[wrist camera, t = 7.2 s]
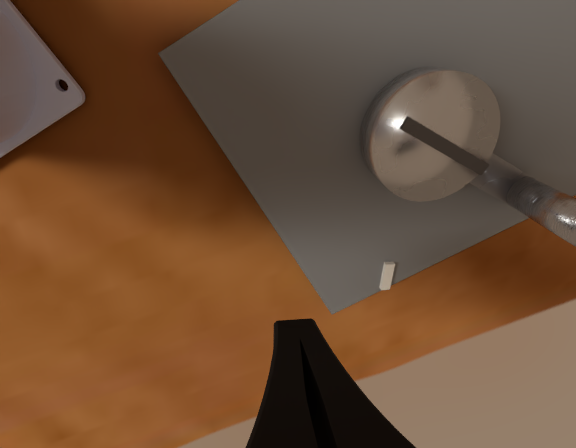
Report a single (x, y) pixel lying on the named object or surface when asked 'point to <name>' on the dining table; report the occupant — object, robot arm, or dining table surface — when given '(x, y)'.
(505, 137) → the grey square mat
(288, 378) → the robot arm
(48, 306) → the dining table surface
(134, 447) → the dining table surface
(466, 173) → the grey piece
